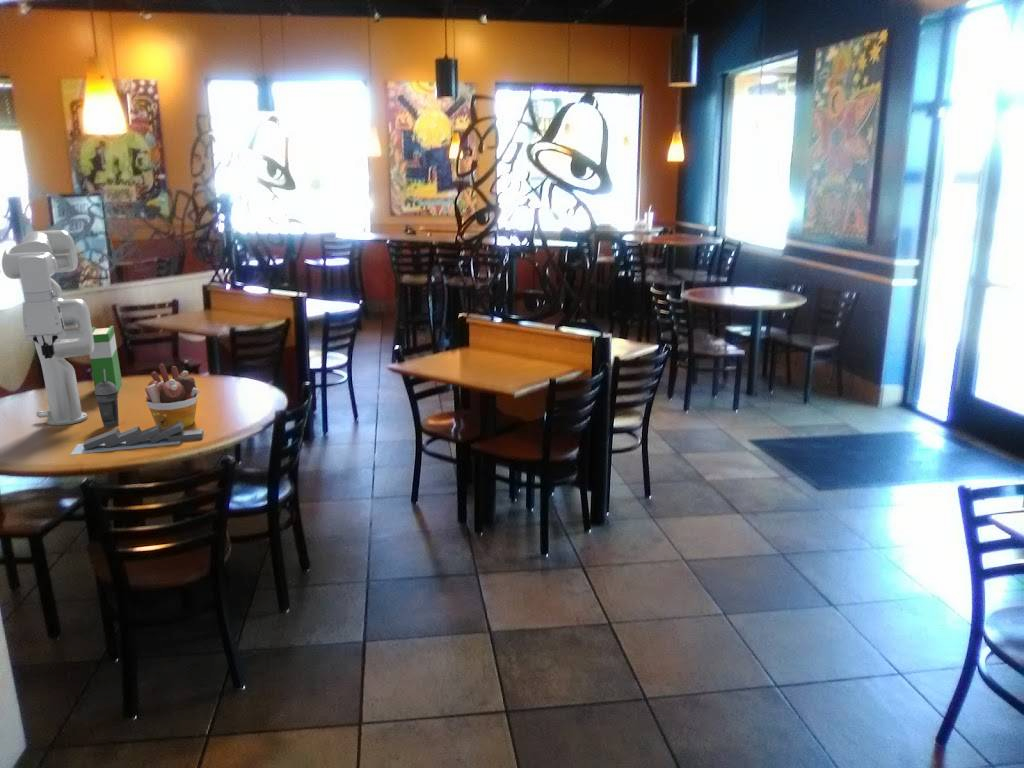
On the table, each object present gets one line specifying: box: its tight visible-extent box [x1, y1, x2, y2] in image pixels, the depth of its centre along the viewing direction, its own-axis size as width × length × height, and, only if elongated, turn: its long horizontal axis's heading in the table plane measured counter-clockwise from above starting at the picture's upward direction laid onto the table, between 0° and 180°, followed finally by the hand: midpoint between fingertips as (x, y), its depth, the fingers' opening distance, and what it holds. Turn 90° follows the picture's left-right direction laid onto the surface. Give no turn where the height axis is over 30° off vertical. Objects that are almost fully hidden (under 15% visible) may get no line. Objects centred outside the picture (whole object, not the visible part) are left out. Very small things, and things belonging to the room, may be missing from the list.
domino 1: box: [82, 427, 121, 450], centre depth 253 cm, size 2×5×10 cm
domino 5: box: [168, 428, 205, 442], centre depth 260 cm, size 2×5×10 cm
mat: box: [70, 437, 181, 456], centre depth 256 cm, size 31×10×1 cm, turn 106°
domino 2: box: [104, 425, 142, 448], centre depth 255 cm, size 2×5×10 cm
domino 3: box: [126, 424, 162, 446], centre depth 256 cm, size 2×5×10 cm
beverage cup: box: [94, 369, 120, 429], centre depth 273 cm, size 7×7×20 cm
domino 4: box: [149, 421, 185, 444], centre depth 258 cm, size 2×5×10 cm
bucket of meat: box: [144, 363, 201, 429], centre depth 272 cm, size 20×16×20 cm
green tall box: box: [89, 325, 123, 394], centre depth 317 cm, size 18×7×24 cm, turn 20°
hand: (49, 357), depth 247 cm, fingers closed
